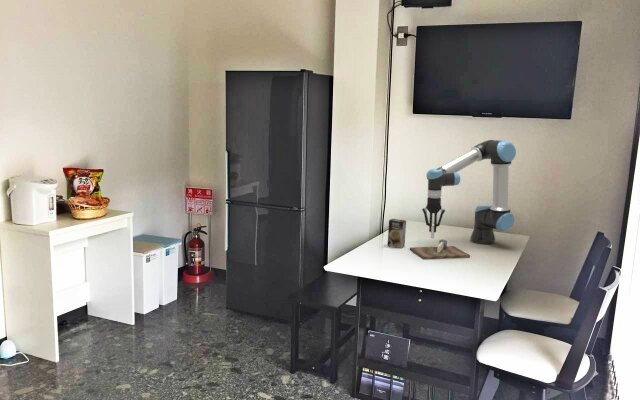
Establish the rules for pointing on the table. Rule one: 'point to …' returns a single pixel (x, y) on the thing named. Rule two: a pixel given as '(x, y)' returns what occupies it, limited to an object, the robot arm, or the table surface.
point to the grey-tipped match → (442, 245)
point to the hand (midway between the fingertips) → (432, 237)
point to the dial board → (444, 254)
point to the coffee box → (396, 233)
